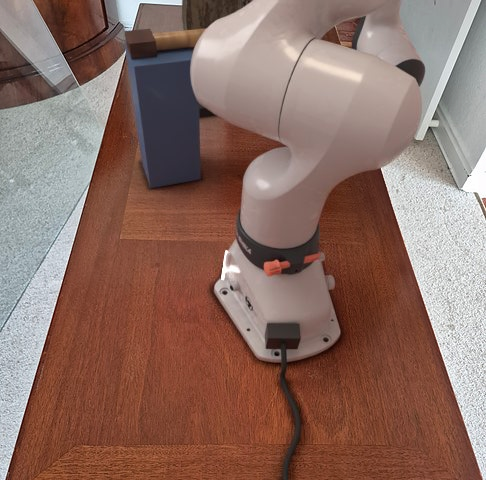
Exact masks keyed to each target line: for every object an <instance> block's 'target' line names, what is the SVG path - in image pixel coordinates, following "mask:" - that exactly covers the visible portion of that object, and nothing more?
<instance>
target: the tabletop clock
mask: <svg viewBox="0 0 486 480" xmlns="http://www.w3.org/2000/svg"><path fill="white" fill-rule="evenodd" d="M241 8H243V0H181V21H182V28H183V30H182V31H185V30H195V29H206V28H208V27H209V26H210V25H211V24H212V23H213V22H215V21H216V20H218V19H220V18H223V17H226V16H228V15H230V14H232V13H234V12H236V11H238V10H240V9H241ZM192 48H193V50H194V48H195V47H192Z"/></svg>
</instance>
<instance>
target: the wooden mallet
mask: <svg viewBox="0 0 486 480" xmlns="http://www.w3.org/2000/svg"><path fill="white" fill-rule="evenodd" d="M206 29H207V28H206ZM206 29H195V30H185V31H184V30H177V31H166V32H156V33H155V32H154V33H153V32H152V30H151V28H142V29H141V28H140V29H131V30H124V31H123V32H124V38H125V40H124V41H126V47H127V49H128V52H129V54H130V57H131V59H139V58H148V57H157V51H162V50H171V49H180V48H190V47H195V46H196V43H197V41H198V40H199V38H200V36H201V35H202V33H203V32H204V31H205V30H206Z"/></svg>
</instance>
